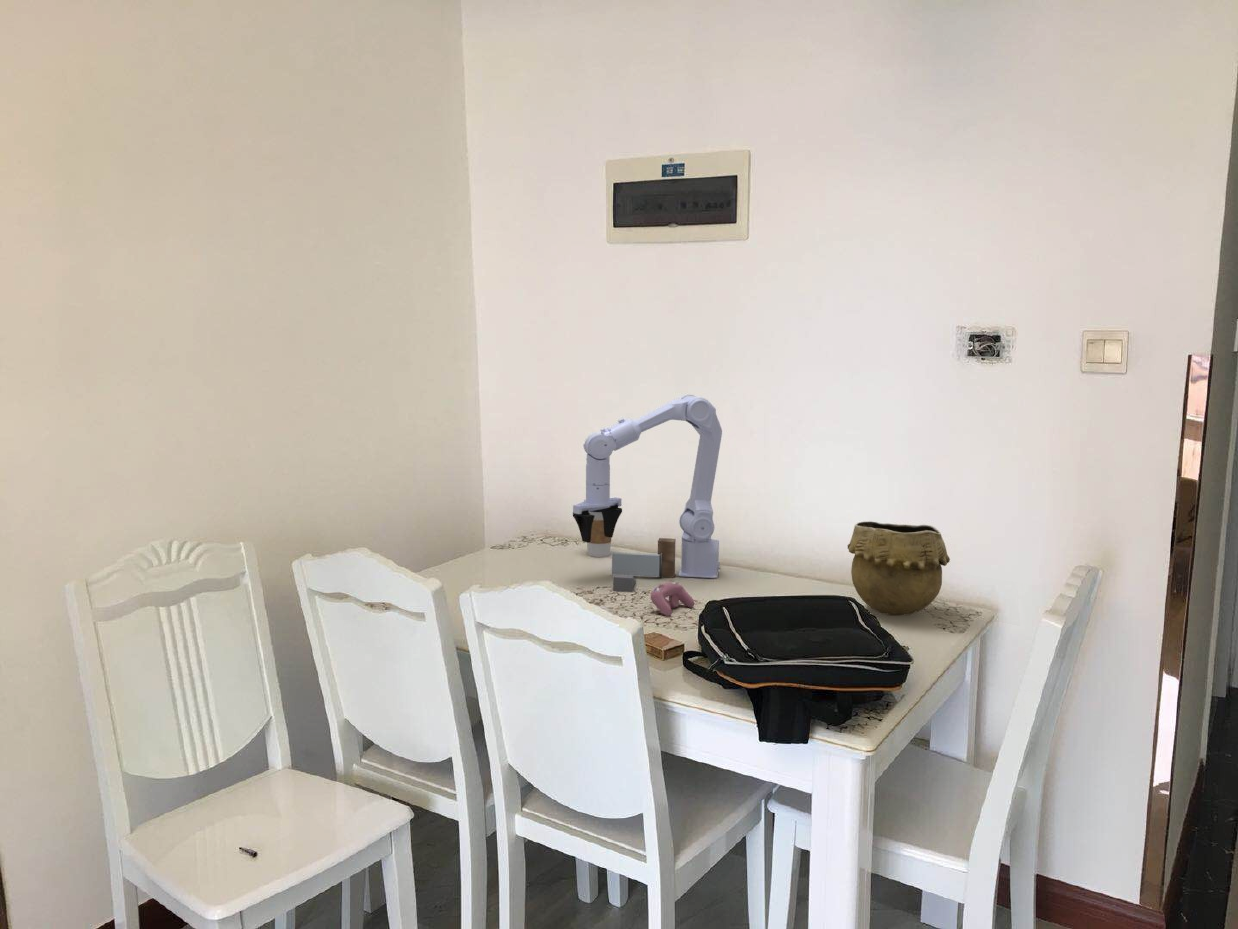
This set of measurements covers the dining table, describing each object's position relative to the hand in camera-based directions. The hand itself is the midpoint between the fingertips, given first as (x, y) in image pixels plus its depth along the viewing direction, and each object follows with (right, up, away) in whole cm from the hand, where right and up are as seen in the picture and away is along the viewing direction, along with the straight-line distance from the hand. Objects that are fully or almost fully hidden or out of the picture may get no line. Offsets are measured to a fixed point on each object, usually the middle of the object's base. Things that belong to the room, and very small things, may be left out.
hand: (597, 539), depth 232 cm
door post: (+17, -9, +5) cm, 20 cm away
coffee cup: (0, -6, +26) cm, 27 cm away
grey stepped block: (+7, -11, -6) cm, 14 cm away
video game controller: (+17, -14, -23) cm, 31 cm away
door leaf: (+9, -9, +4) cm, 13 cm away
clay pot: (+65, -14, -23) cm, 70 cm away
